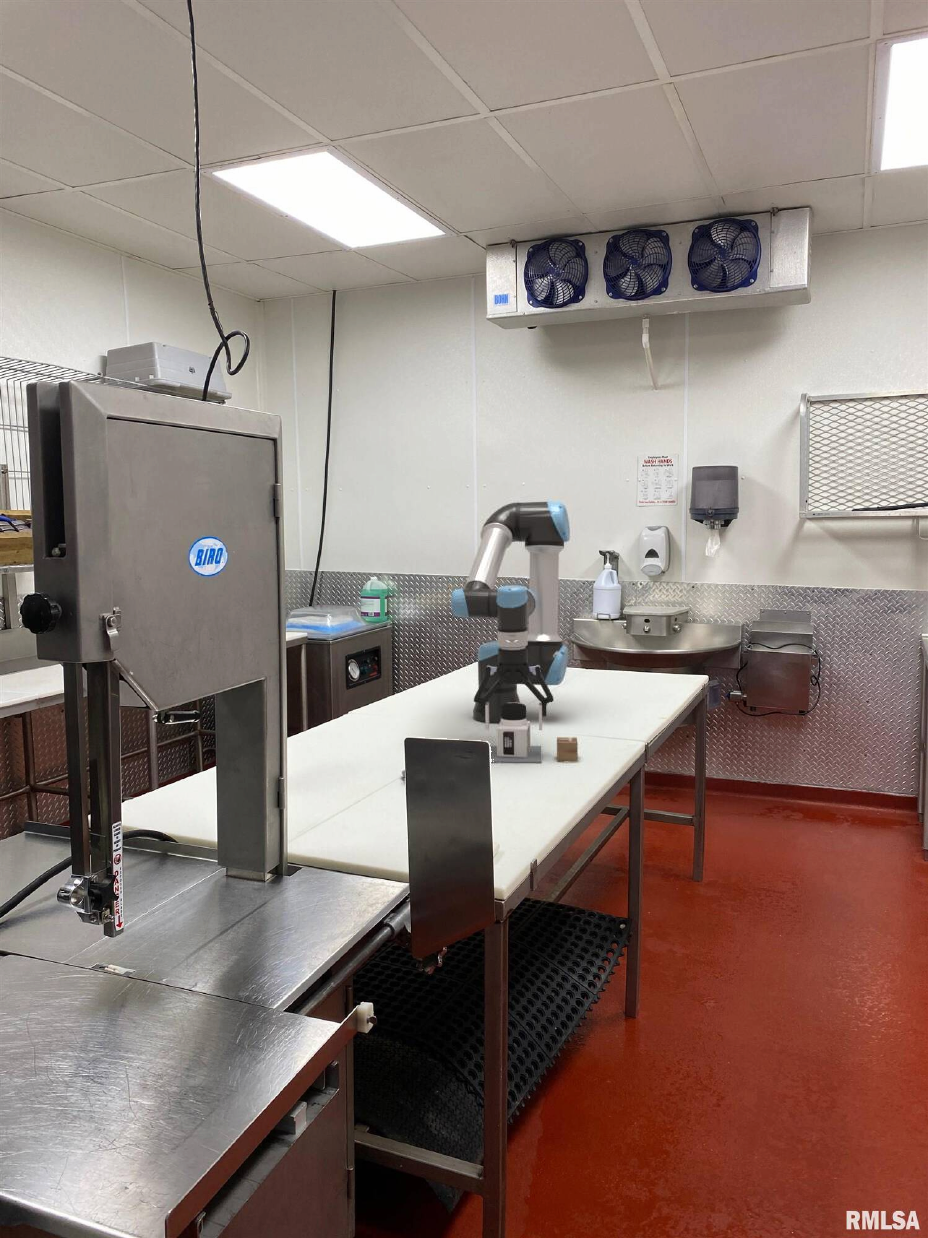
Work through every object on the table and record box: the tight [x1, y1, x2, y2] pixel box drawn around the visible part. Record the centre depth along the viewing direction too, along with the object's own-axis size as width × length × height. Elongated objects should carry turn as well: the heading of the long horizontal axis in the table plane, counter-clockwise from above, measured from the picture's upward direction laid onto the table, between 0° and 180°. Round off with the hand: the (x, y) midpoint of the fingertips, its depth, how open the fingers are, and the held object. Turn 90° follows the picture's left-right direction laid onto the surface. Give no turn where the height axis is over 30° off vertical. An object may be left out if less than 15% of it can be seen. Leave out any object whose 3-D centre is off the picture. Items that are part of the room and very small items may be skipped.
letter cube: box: [556, 736, 579, 763], centre depth 218 cm, size 5×5×5 cm
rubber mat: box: [490, 745, 542, 764], centre depth 222 cm, size 14×14×1 cm
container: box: [496, 702, 531, 758], centre depth 221 cm, size 8×8×13 cm
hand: (513, 728), depth 222 cm, fingers open, 13 cm apart
